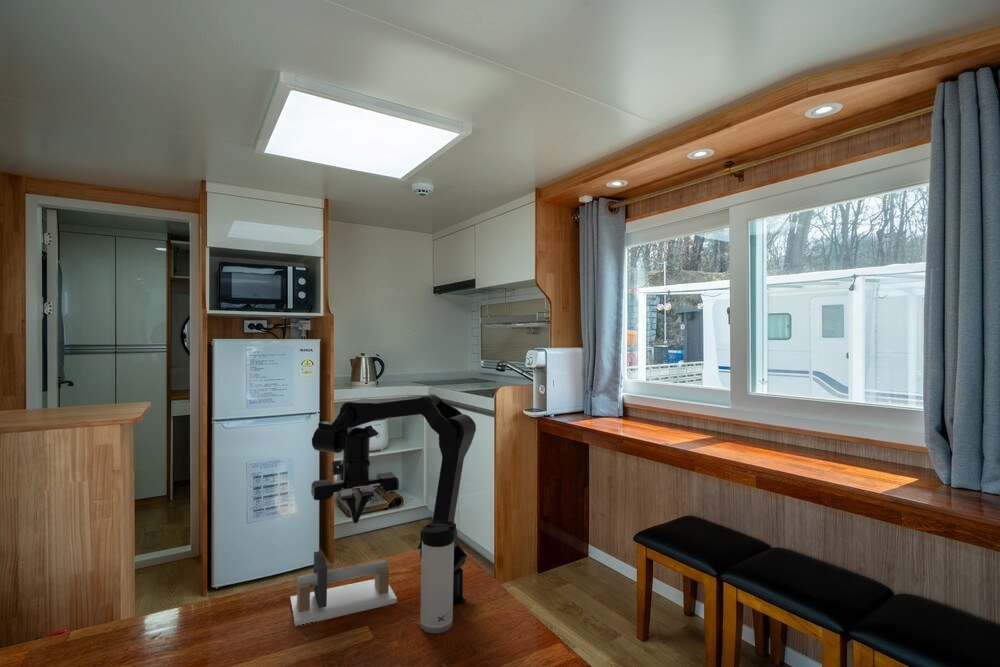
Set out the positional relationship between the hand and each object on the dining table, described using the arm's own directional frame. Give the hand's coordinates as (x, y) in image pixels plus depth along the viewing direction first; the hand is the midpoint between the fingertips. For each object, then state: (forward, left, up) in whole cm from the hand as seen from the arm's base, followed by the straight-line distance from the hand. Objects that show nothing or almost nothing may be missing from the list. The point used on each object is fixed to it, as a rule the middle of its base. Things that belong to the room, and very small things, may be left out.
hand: (355, 522), depth 118 cm
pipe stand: (+4, +9, -13) cm, 16 cm away
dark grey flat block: (+9, +9, -11) cm, 17 cm away
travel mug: (-11, +25, -13) cm, 30 cm away
